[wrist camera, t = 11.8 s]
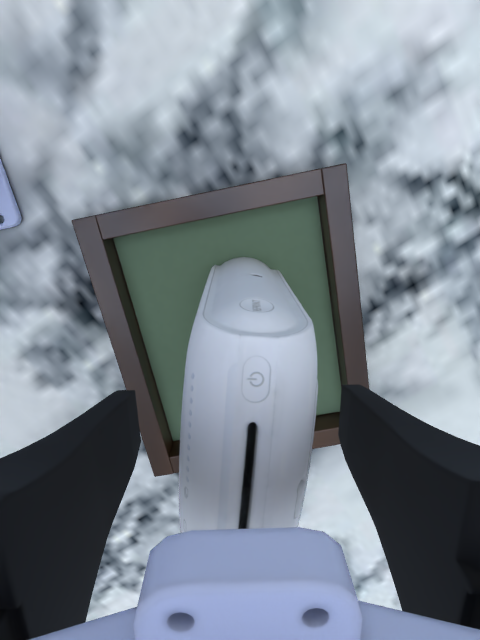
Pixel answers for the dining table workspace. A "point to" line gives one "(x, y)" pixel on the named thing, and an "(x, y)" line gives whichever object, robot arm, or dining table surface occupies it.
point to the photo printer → (247, 403)
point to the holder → (191, 276)
